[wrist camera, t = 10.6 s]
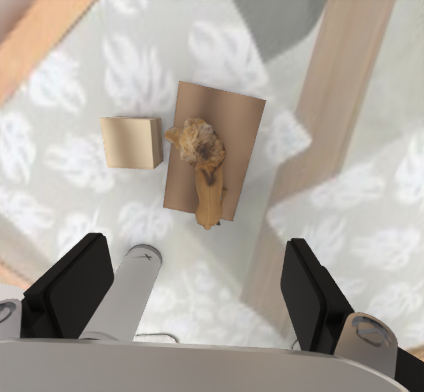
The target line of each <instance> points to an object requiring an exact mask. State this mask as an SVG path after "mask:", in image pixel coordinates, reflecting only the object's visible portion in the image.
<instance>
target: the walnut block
mask: <svg viewBox="0 0 424 392" xmlns="http://www.w3.org/2000/svg"><path fill="white" fill-rule="evenodd" d="M265 102H266V100H262V99H258V98H253V97H249V96H244V95H240V94H236V93H231V92H227V91H222V90H218V89H213V88H209V87H204V86H200V85H196V84H191V83H187V82H182V81H179V87H178V95H177V103H176V111H175V118H174V126H173V128H179V127H183V126H184V124H185V121H186V120H187V119H188V117H190V118H192V117H193V118H196V119H198V118H200V119H202V120H204V121H205V122H206V123H207V124H208V125H211V126H212V127H213V129H215V130H216V131H217V132H218V134H219V135H220V137H221V139H222V140H223V142H224V147H225V149H226V157H225V159H224V163H223V166H222V169H223V186H222V188H226V189H227V195H226V196H225V198H224V200H223V213H222V217H221V219H224V220H229V221H233V218H234V215H235V211H236V207H237V204H238V200H239V197H240V193H241V189H242V186H243V182H244V178H245V175H246V171H247V168H248V164H249V160H250V157H251V153H252V150H253V146H254V142H255V139H256V135H257V131H258V128H259V124H260V121H261V117H262V113H263V110H264V106H265ZM198 204H199V197H198V193H197V189H196V183H195V171H194V169H193V167H192V166H191V165H190V164H189V163H188V162H186V161H185V159H184V160H181V155H180V150H178V149H177V148H176V147H175V143H171V149H170V157H169V165H168V173H167V181H166V188H165V196H164V204H163V207H164V208H169V209H174V210H179V211H184V212H189V213H194V214H195V210H196V206H197V205H198Z"/></svg>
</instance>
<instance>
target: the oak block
mask: <svg viewBox="0 0 424 392" xmlns="http://www.w3.org/2000/svg"><path fill="white" fill-rule="evenodd" d="M100 123H101V129H102V135H103V142H104V148H105V155H106V161H107V167H109V168H133V169H155V168H156V167H157V166H158V165H159V164H160V163H161V162H162V161H163V150H162V132H161V118H141V117H107V118H100Z"/></svg>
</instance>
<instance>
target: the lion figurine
mask: <svg viewBox="0 0 424 392" xmlns="http://www.w3.org/2000/svg"><path fill="white" fill-rule="evenodd" d="M164 137H165V139H166V140H168V141H169V142H171V143H175V147H176V148H177V149H178V150H180V155H181V160H184V159H185V161H186V162H188V163H189V164H190V165H191V166H192V167H193V169H194V171H195V183H196V189H197V193H198V197H199V204H198V205H197V206H196V210H195V216H196V220H197V222H198V224H199V225H203V226H204V228H205V229H206V230H209V229H210V228H211V226H214V225H215V224H217V225H220V222H219V220H220V219H221V217H222V213H223V200H224V198H225V196H226V195H227V189H226V188H222V186H223V169H222V166H223V163H224V159H225V157H226V149H225V147H224V142H223V140H222V139H221V137H220V135H219V134H218V132H217V131H216V130H215V129H213V127H212V126H211V125H208V124H207V123H206V122H205V121H204V120H202V119H200V118H198V119H196V118H193V117H192V118H190V117H188V119H187V120H186V121H185V124H184V126H183V127H179V128H173V127H172V128H170V129H169V130H168V131H166V132H165V135H164Z"/></svg>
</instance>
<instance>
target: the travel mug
mask: <svg viewBox="0 0 424 392" xmlns="http://www.w3.org/2000/svg"><path fill="white" fill-rule="evenodd" d="M161 264H162V258H161V255H160V254H159V252H158V251H157V250H156V249H154V248H153V247H150V246H147V245H138V246H135V247H133V248H132V249H131V250H130V251H129V252H128V254H127V255H126V257H125V259H124V260H123V262H122V263H121V265H120V266H119V268H118V269H117V271H116V273H115V274H114V282H113V284H112V286H111V287H110V289H109V291H108V292H107V294H106V295H105V297H104V299H103V300H102V302H101V303H100V305H99V307H98V308H97V310H96V311H95V313H94V315H93V316H92V318H91V319H90V321H89V322H88V324H87V326H86V327H85V329H84V330H83V332H82V334H81V335H80V337H79V338H78V339H86V340H111V341H132V340H133V338H134V335H135V333H136V330H137V327H138V325H139V322H140V320H141V317H142V314H143V312H144V309H145V306H146V304H147V301H148V299H149V296H150V293H151V291H152V288H153V285H154V283H155V280H156V278H157V275H158V272H159V270H160V267H161Z"/></svg>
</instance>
